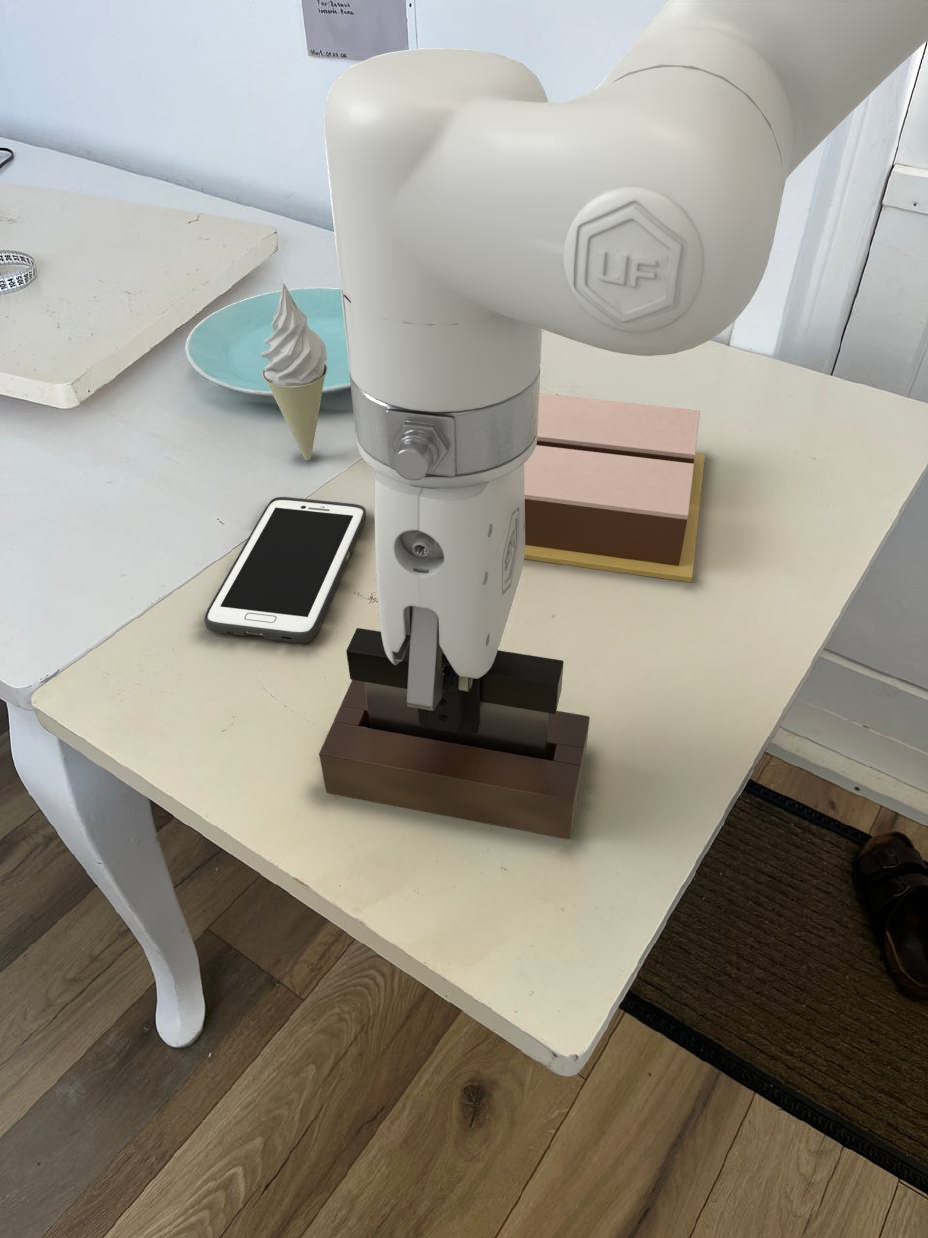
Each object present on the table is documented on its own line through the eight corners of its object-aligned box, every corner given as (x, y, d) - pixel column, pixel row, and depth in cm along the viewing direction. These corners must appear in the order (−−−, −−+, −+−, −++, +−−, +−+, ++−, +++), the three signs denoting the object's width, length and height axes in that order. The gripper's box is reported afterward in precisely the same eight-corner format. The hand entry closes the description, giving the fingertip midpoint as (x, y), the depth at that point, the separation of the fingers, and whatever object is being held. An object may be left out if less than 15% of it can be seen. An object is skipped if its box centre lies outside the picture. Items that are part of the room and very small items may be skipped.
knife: (554, 778, 55) (564, 660, 48) (549, 803, 53) (558, 685, 47) (371, 745, 57) (356, 626, 50) (362, 768, 55) (345, 650, 49)
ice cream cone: (349, 462, 79) (329, 286, 68) (294, 483, 77) (265, 304, 66) (320, 436, 82) (297, 263, 72) (267, 455, 80) (235, 280, 69)
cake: (704, 458, 78) (714, 405, 75) (691, 582, 67) (702, 526, 64) (513, 436, 81) (514, 383, 78) (470, 551, 70) (469, 495, 66)
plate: (251, 300, 102) (246, 274, 100) (450, 322, 97) (449, 295, 95) (146, 404, 86) (139, 375, 84) (378, 436, 82) (375, 407, 80)
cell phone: (201, 633, 64) (198, 622, 63) (274, 504, 74) (272, 494, 74) (312, 647, 63) (310, 636, 62) (370, 514, 73) (369, 504, 72)
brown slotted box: (585, 755, 56) (590, 715, 53) (569, 840, 52) (573, 801, 49) (358, 715, 58) (353, 675, 56) (325, 792, 54) (318, 753, 52)
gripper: (495, 535, 32) (492, 845, 45) (568, 327, 44) (549, 621, 56) (288, 507, 34) (341, 815, 46) (410, 312, 45) (427, 602, 57)
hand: (455, 707), depth 51 cm, fingers closed on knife, 1 cm apart
